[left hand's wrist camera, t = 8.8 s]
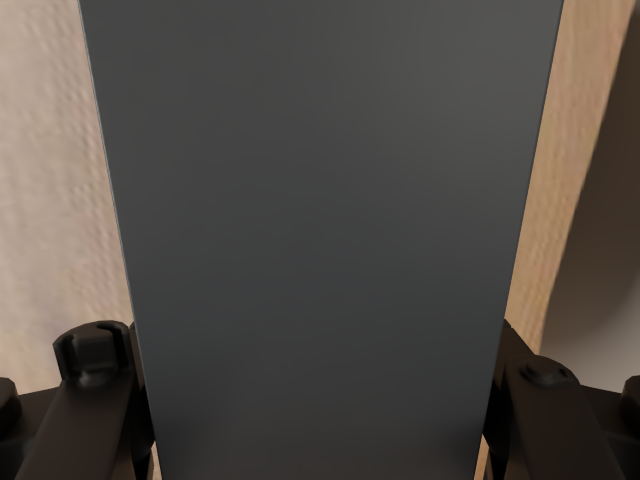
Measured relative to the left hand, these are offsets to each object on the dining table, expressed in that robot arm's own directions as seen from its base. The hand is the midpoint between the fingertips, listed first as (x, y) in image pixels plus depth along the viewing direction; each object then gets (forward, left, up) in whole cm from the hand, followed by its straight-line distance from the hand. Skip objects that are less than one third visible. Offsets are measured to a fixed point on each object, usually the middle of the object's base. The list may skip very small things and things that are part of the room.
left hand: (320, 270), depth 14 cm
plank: (+19, +4, -1) cm, 19 cm away
